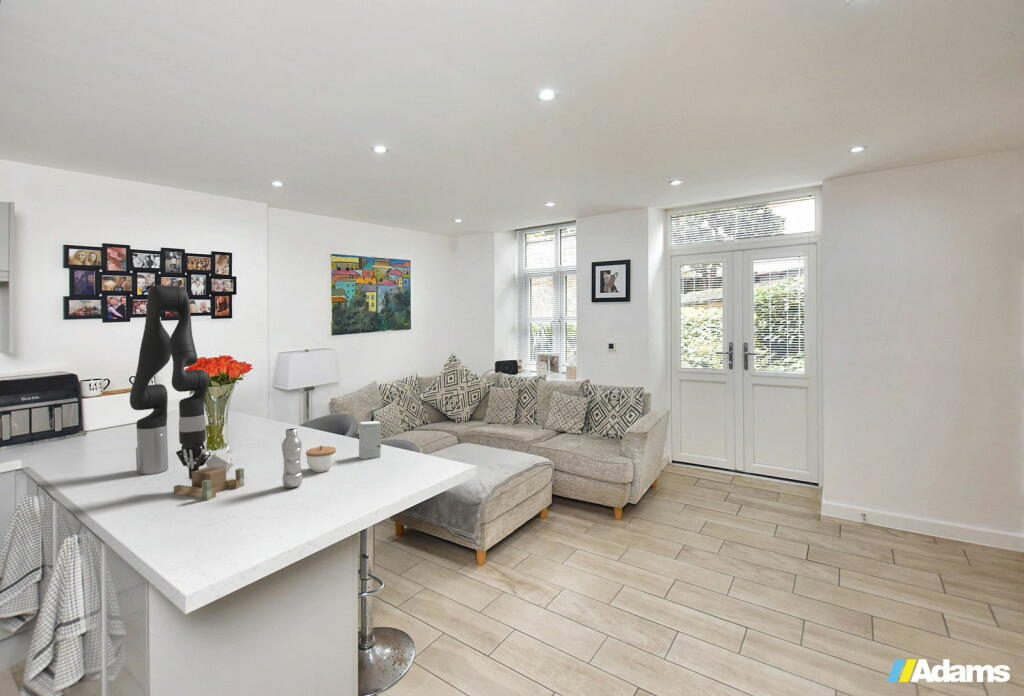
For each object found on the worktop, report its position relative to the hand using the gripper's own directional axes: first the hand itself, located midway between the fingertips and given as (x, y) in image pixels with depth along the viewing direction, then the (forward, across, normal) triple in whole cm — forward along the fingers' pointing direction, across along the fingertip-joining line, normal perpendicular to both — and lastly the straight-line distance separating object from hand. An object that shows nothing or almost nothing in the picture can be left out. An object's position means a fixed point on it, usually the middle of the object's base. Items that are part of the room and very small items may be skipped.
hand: (194, 478), depth 161 cm
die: (+4, -6, +16) cm, 18 cm away
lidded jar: (+4, +28, +30) cm, 41 cm away
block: (+4, +6, 0) cm, 7 cm away
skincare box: (+4, +36, +51) cm, 62 cm away
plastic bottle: (+4, +31, +11) cm, 33 cm away
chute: (+4, +6, 0) cm, 7 cm away
